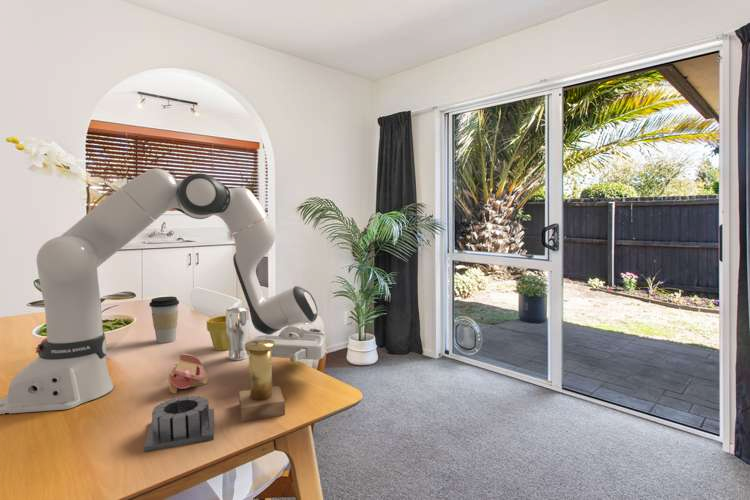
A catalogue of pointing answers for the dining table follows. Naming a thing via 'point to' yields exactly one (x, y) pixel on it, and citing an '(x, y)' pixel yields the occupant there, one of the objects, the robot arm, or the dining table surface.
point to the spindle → (260, 369)
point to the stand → (261, 405)
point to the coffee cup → (165, 318)
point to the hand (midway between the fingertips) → (274, 357)
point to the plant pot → (218, 332)
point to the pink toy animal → (187, 373)
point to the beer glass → (237, 332)
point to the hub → (180, 423)
